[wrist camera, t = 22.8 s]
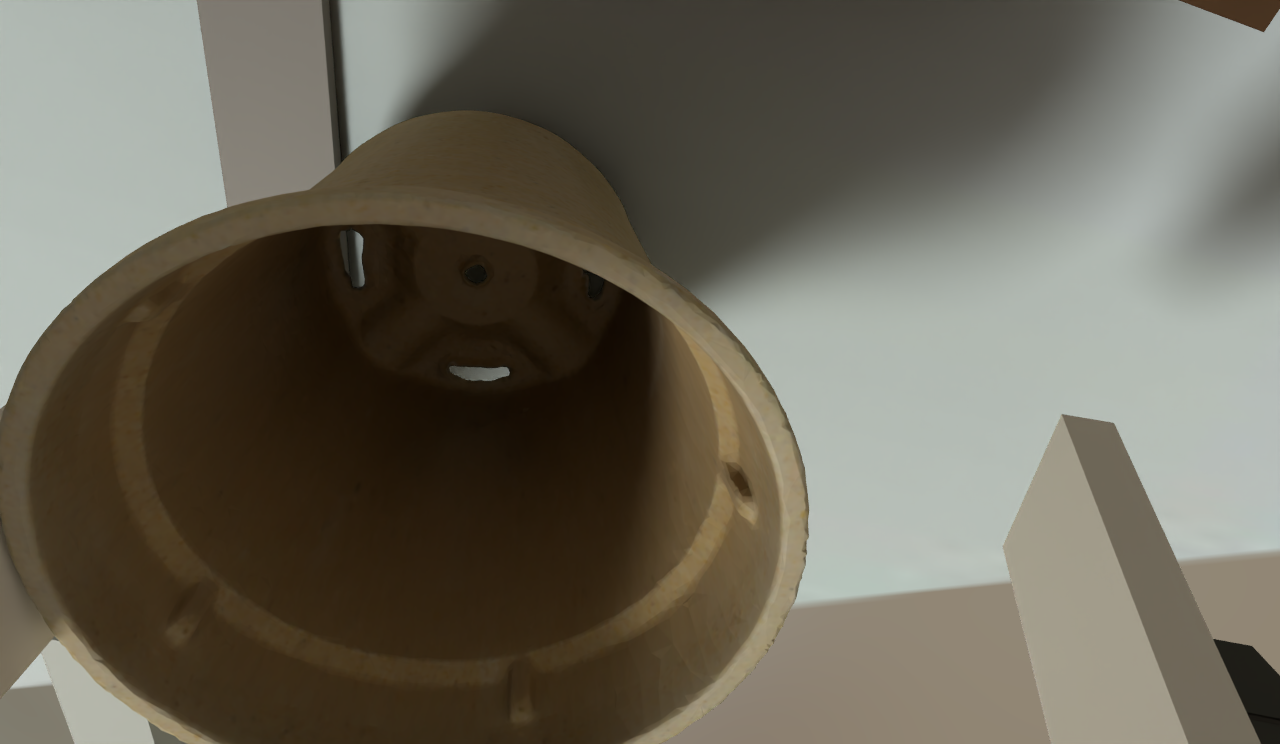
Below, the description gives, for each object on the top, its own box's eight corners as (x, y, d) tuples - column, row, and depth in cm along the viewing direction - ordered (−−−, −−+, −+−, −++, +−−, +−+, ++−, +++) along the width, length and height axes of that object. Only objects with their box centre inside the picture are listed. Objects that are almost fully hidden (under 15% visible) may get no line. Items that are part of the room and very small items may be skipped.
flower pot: (628, -73, 15) (676, 50, 8) (769, 375, 20) (878, 704, 13) (132, 118, 17) (-217, 375, 9) (378, 498, 21) (276, 862, 14)
